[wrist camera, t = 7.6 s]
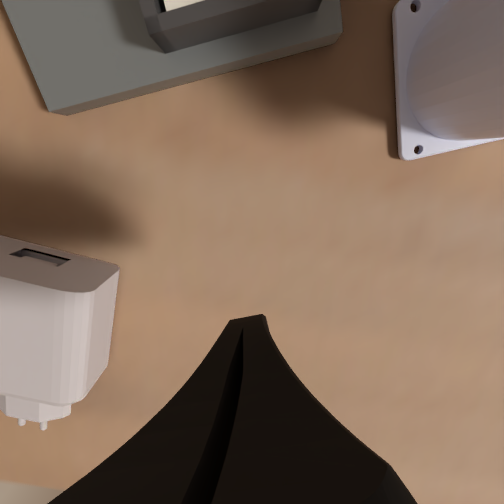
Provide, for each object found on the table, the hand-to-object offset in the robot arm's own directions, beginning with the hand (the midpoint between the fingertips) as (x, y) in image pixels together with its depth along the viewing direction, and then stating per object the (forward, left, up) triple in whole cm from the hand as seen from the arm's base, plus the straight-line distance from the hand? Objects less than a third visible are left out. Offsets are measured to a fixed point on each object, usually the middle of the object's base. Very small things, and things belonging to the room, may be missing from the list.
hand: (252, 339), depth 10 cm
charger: (+17, +3, -10) cm, 20 cm away
